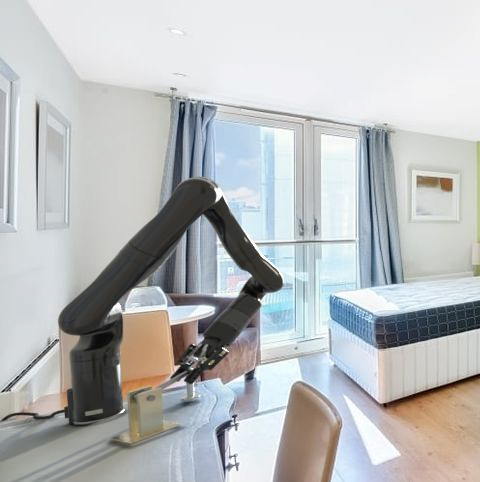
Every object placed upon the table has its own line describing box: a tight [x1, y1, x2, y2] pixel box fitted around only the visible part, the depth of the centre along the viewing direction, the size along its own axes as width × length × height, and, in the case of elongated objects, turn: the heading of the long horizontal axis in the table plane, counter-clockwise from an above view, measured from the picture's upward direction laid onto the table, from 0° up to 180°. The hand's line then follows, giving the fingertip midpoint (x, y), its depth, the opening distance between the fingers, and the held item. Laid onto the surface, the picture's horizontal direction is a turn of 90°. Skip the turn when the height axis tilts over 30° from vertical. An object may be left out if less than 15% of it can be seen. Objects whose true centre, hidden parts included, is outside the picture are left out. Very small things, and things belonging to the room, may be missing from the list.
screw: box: [179, 361, 202, 404], centre depth 127 cm, size 13×5×5 cm
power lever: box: [133, 369, 192, 402], centre depth 112 cm, size 12×5×2 cm, turn 161°
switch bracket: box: [110, 385, 182, 445], centre depth 108 cm, size 10×8×12 cm
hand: (180, 381), depth 115 cm, fingers closed on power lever, 5 cm apart
